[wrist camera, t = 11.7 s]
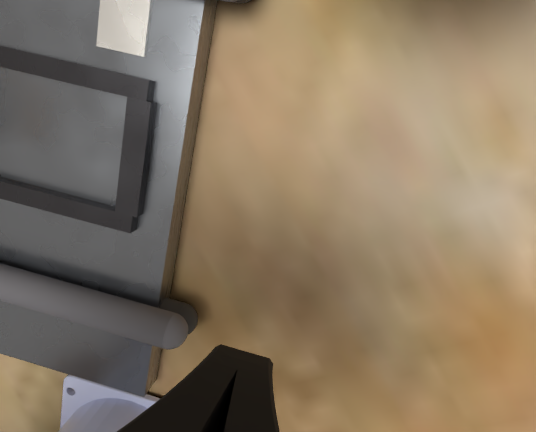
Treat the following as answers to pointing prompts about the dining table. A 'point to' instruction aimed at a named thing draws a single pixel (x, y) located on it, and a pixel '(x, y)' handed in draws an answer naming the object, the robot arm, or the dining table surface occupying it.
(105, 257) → the breaker panel
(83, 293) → the dark grey bar
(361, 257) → the dining table surface
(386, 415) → the dining table surface
